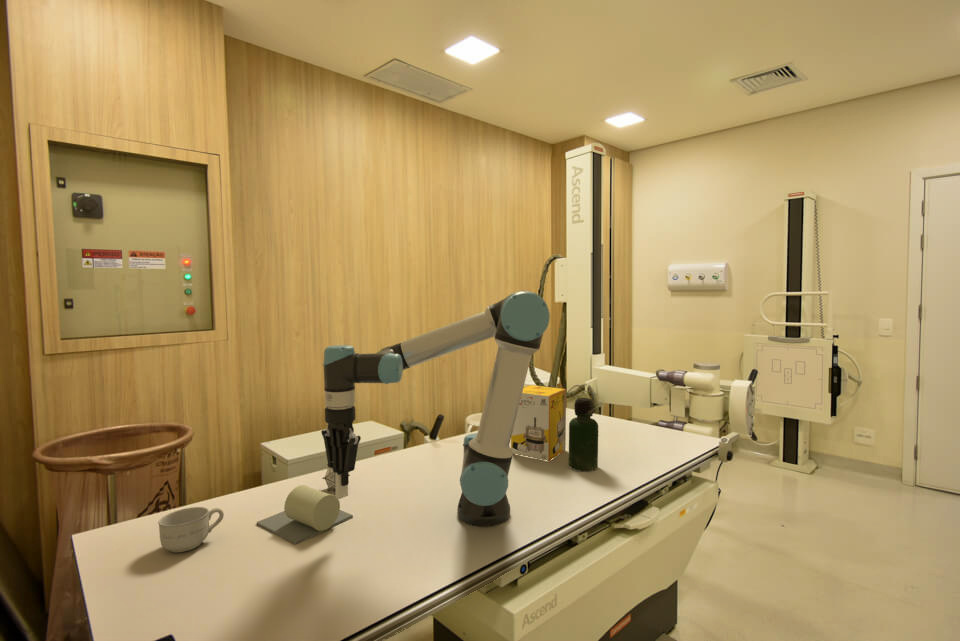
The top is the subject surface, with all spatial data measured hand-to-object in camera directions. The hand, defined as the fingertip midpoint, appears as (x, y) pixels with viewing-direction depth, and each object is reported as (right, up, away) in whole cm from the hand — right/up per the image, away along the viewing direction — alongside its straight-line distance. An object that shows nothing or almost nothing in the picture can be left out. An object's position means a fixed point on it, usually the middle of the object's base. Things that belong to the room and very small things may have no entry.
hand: (341, 496), depth 123 cm
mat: (-13, -10, +9) cm, 19 cm away
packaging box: (+59, -8, +68) cm, 90 cm away
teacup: (-36, -11, -3) cm, 38 cm away
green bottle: (+73, -8, +51) cm, 90 cm away
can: (-5, -6, +3) cm, 8 cm away
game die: (-11, -9, +31) cm, 34 cm away
